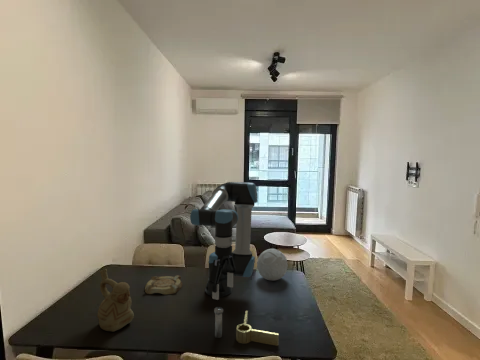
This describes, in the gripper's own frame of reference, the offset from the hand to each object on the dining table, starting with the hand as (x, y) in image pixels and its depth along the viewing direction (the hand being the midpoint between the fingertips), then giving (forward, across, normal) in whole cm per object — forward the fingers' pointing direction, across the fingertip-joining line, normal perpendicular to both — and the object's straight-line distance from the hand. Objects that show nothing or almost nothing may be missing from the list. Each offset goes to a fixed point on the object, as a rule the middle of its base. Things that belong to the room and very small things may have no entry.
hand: (223, 292), depth 133 cm
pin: (+19, -2, +1) cm, 19 cm away
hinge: (+19, +7, -14) cm, 25 cm away
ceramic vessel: (+20, -15, +50) cm, 55 cm away
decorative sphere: (+19, +67, 0) cm, 70 cm away
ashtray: (+20, +27, +55) cm, 64 cm away
